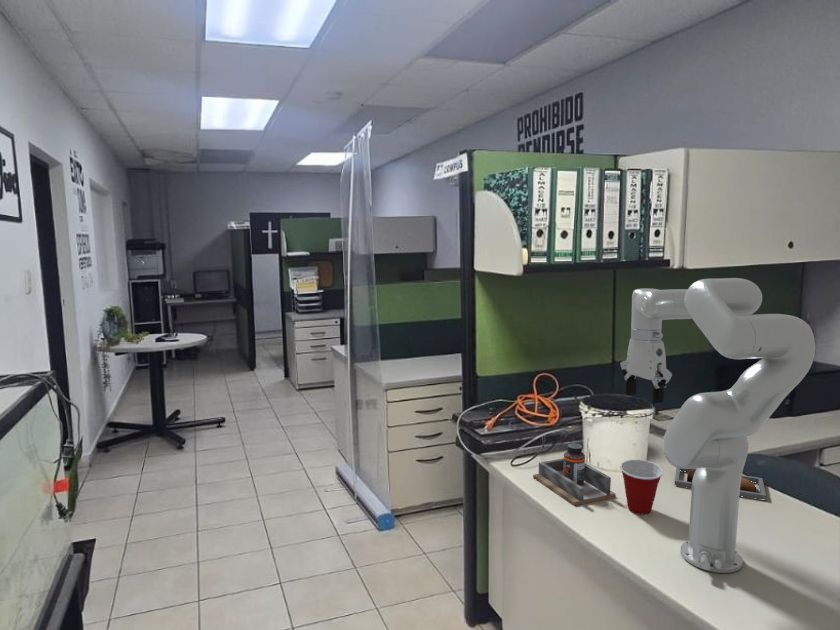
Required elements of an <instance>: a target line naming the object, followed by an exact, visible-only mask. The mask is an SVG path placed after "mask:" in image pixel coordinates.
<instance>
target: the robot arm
mask: <svg viewBox="0 0 840 630" xmlns="http://www.w3.org/2000/svg"><path fill="white" fill-rule="evenodd" d="M762 302H763V294H762V291H761V289H760V287H759V286H758V285H757V284H756V283H754V282H753V281H751V280H748V279H745V278H740V277H739V278H738V277H730V278H729V277H728V278H727V277H726V278H725V277H724V278H721V277H720V278H702V279H698V280H697V281H694V282H693V283H692V284H690V286H689V287H688V289H679V288H678V289H676V288H675V289H673V288H672V289H658V288H649V287H648V288H637V289H634V290H633V292H632V295H631V321H630V323H631V325H630V326H631V328H630V338H629V341H628V342H629V343H628V347H627V355H626V359H625V360H622V361H621V362H620V368H621V372H622V374H623V378H624V380H625V395H626V396H631V395H636V394H637V379H636V377H637V378H642V379H645V380H649V381H651V382H652V385H653V388H652V404H659V403H664V399H665V398H664V397H665V396H664V392H665V391H664V389H666V388H667V385H669V383H670V381H671V379H672V377H673V373H672V372H671V371H670V370H669V369H667V361H666V360H667V357H666V348H665V343H664V341H662V339H663V337H664V334H663V333H662V326H663V325H662V322H663V321H665V320H691V319H692V320H693V321H694V323H695V325H696V326H697V327H698V329H699V331H701V332H702V334H703V335H704V336H705V337H706V339H707V341H709V343H710V344H711V345H712V347H713V348H714V349H715V351H717V352H718V353H719V354H720V355H721V356H723V357H725V358H727V359H730V360H731V359H732V360H746V359H747V360H748V359H750V360H752V359H760V360H758V361H757V362H756V363H754V364H753V365H751V366H749V367H748V368H747V369H745V370H744V371H743V373H742V374H741V375H740V376H739V377H738V379H737V381H736V382H735V383H734V384H733V385H732V387H731V388H729V389H726V390H722V391H710V392H707V391H706V392H699V393H697V394H693V395H692V396H690V397H689V398H688V399H687V400H686V401H684V403H683V404H682V405H681V407H680V408H679V410H678V412H677V413H676V415H675V416H674V418H673V419H672V421H671V423H670V424H669V425H668V428H666V430H665V434H664V436H663V441H662V450H663V455H664V458H665V459H666V460H667V462H668V463H669V464H670V465H672V466H674V467H675V468H681V469H694V468H697V469H696V471H695V473H694V476H693V480H692V489H691V494H690V495H691V496H690V509H689V510H690V511H689V526H688V540H686V541H684V542H683V543H681V545H680V554H681V557H682V558H683V559H684V560H685V561H686V562H688V563H689V564H691V565H692V566H695V567H697V568H699V569H702V570H703V571H708V572H713V573H718V574H729V573H735V572H737V571H739V570H741V569H742V567H743V564H744V563H743V557H742V555H741V554H740V553H739V552H738V551H736V548H737V533H738V520H739V518H738V517H739V504H740V497H739V495H740V484H741V476H742V475H743V471H744V467H745V463H746V461H747V457H748V455H749V440H748V436H752V435H754V434H756V433H757V432H758V431H760V429H761V428H762V427H763V426H764V425H765V423H766V422H767V421H768V420H769V418H770V417H771V416H772V415H773V413H774V412H775V411H776V410H777V409H778V407H779V406H780V404H781V403H782V402H783V401H784V399H786V397H787V396H788V395H789V394H790V393H791V392H792V391H793V390H794V389H795V387H797V386H798V385H799V384H800V383H801V382H802V380H803V379H804V378H805V377H806V375H807V374H808V373H809V371H810V369H811V367H812V365H813V362H814V358H815V352H816V342H815V336H814V333H813V330H812V328H811V327H810V325H809V324H808V323H807V322H806V321H805V320H804V319H802V318H799V317H797V316H794V315H791V314H790V315H789V314H784V313H783V314H782V313H762V314H761V313H759V314H754V313H756V312H757V311H758V309H760V307H761V305H762Z"/></svg>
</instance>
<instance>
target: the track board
mask: <svg viewBox="0 0 840 630" xmlns="http://www.w3.org/2000/svg"><path fill="white" fill-rule="evenodd" d="M563 469H564V457H563V458H559V459H552V460H546V461H542V462H538V473H536V474H535V473H534V474H533V475H532V478H533V479H534V480H535V479H536V480H535V481H537V482H538V483H540V484H541V485H543V486H544V487H545V488H548V489H549V490H550V491H551V492H553V493H554V494H556V495H558V497H561V498H562V499H563V500H564V501H566V502H568V503H569V504H570V505H572V506H573V507H575V506H579V505H583V504H584V505H585V504H588V503H593V502H597V501H598V502H599V501H602V500H607V499H612V498H616V497H617V495H616V494H617V493H615V492H614V491H612V490H611V484H612V483H611V482H612V481H611V480H612V478H611V476H608V475H607V474H606V473H604V472H602V471H600V470H598V469H596V468H594V467H593V466H591V465H589V464H587V463H586V462H585V472H584V484H583V485H582V486H580V485H578V484H577V483H575V482H573V481H572V480H570V479H569V478H567V477H565V476H564V475H563Z"/></svg>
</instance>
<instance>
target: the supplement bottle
mask: <svg viewBox="0 0 840 630" xmlns="http://www.w3.org/2000/svg"><path fill="white" fill-rule="evenodd" d="M582 451H583V446H582V445H581V444H578V443H569V444H567V450H566V451H565V452H564V453H563V458H564V469H563V475H564V476H565V477H567V478H569V479H570V480H572V481H573V482H575V483H577V484H578V485H580V486H582V485H583V484H584V472H585V463H586V455H585V453H584V452H582Z"/></svg>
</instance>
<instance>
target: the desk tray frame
mask: <svg viewBox="0 0 840 630" xmlns="http://www.w3.org/2000/svg"><path fill="white" fill-rule="evenodd" d="M675 468H676V470H675V476H674V485H676V486H675V487H679V486H682V487H681V488H685V487H687V488H686V489H691V488H692V482H691V481H687V480H680V476H679V475H681V472H680V470H681V471H686V472H689V471H691V470H696V469H697V468H694V469H681V468H677V467H675ZM686 472H685V473H686ZM741 477H742V478H745V479H747V480H749V481H752V482H756V483H755V484H757V483H758V484H759V485H758V484H757V485H758V489H760V491H759V492H756V493H755V492H748V491H742V490H740V495H739V496H743V497H742V498H745V497H749V498H748V499H751V498H756V499H755V500H757V499H765V500H766V499H767V495H766V490H765V486H764V480H763V477H757V476H749V475H744V474H742V476H741ZM674 485H673V486H674Z"/></svg>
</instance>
